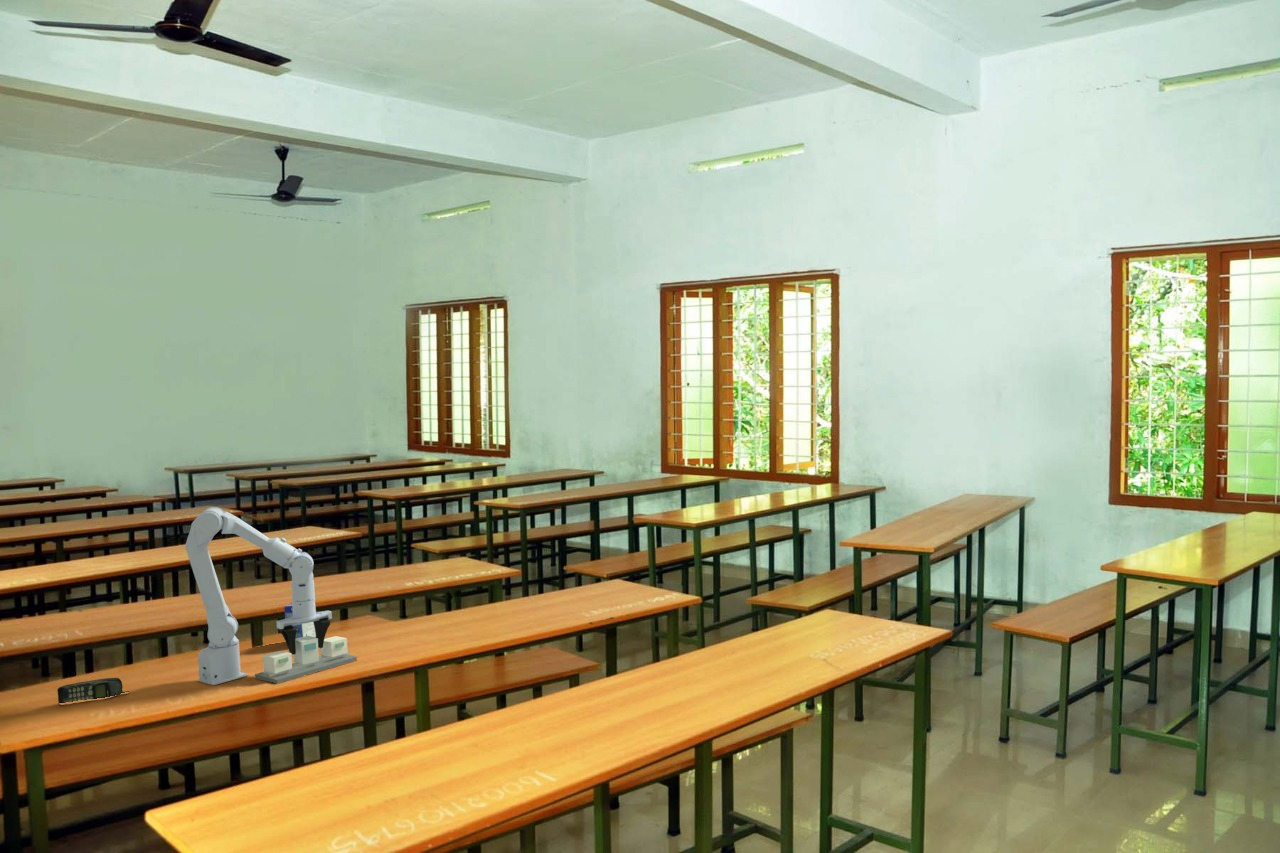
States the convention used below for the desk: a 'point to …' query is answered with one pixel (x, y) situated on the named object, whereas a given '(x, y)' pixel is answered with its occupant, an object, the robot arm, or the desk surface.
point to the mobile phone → (90, 690)
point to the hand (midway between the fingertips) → (306, 650)
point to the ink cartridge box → (301, 629)
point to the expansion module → (306, 650)
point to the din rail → (299, 666)
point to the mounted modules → (284, 659)
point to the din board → (308, 670)
